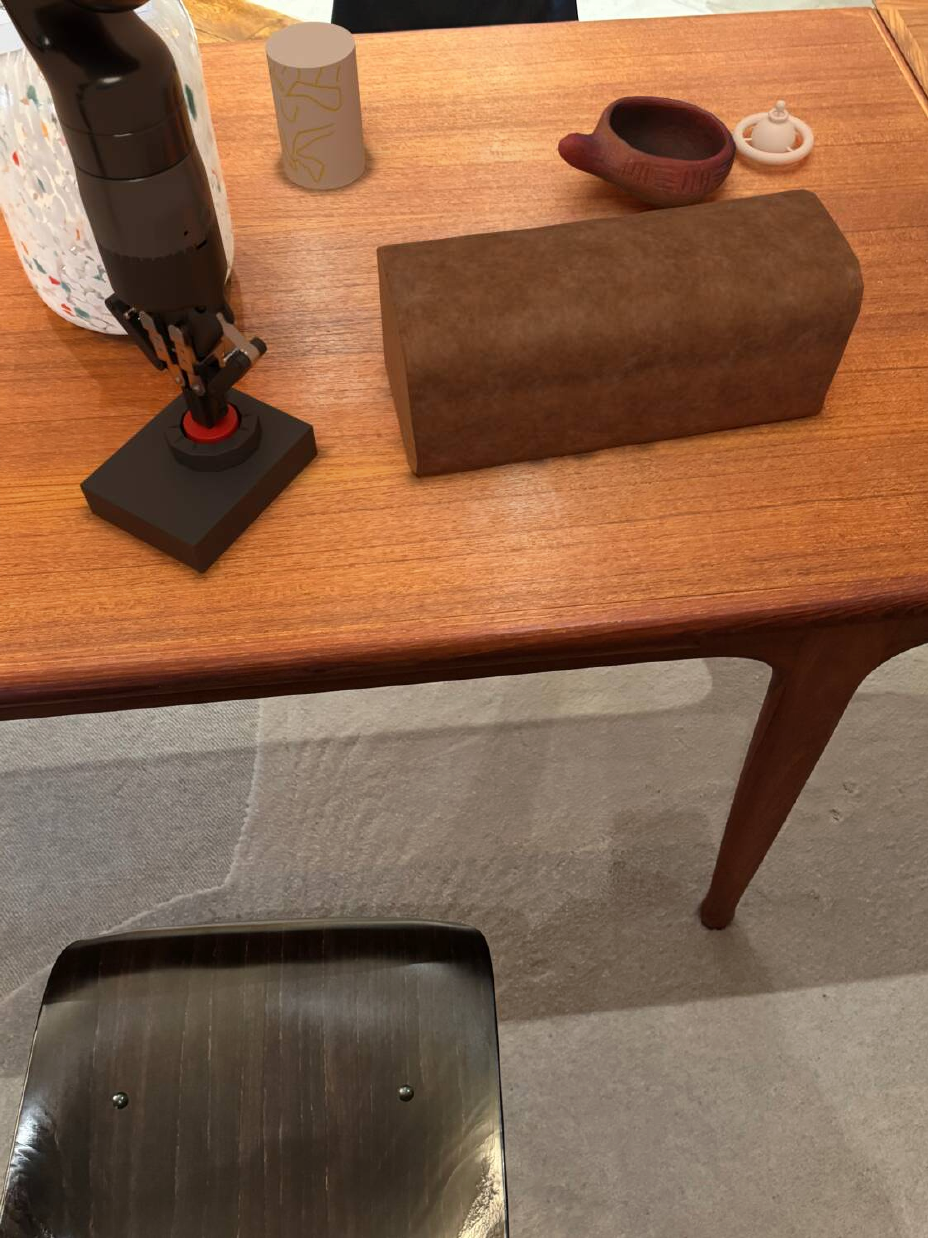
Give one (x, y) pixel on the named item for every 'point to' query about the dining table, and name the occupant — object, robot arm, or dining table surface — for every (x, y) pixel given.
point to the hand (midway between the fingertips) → (211, 418)
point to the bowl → (655, 150)
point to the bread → (615, 329)
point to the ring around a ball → (773, 137)
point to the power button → (217, 432)
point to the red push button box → (199, 479)
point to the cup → (317, 104)
